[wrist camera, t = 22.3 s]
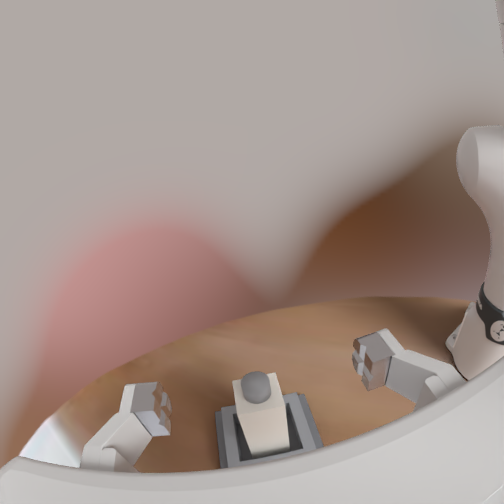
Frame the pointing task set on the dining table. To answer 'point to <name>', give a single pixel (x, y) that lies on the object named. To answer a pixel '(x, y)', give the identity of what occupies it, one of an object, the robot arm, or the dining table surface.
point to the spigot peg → (262, 413)
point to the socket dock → (236, 446)
